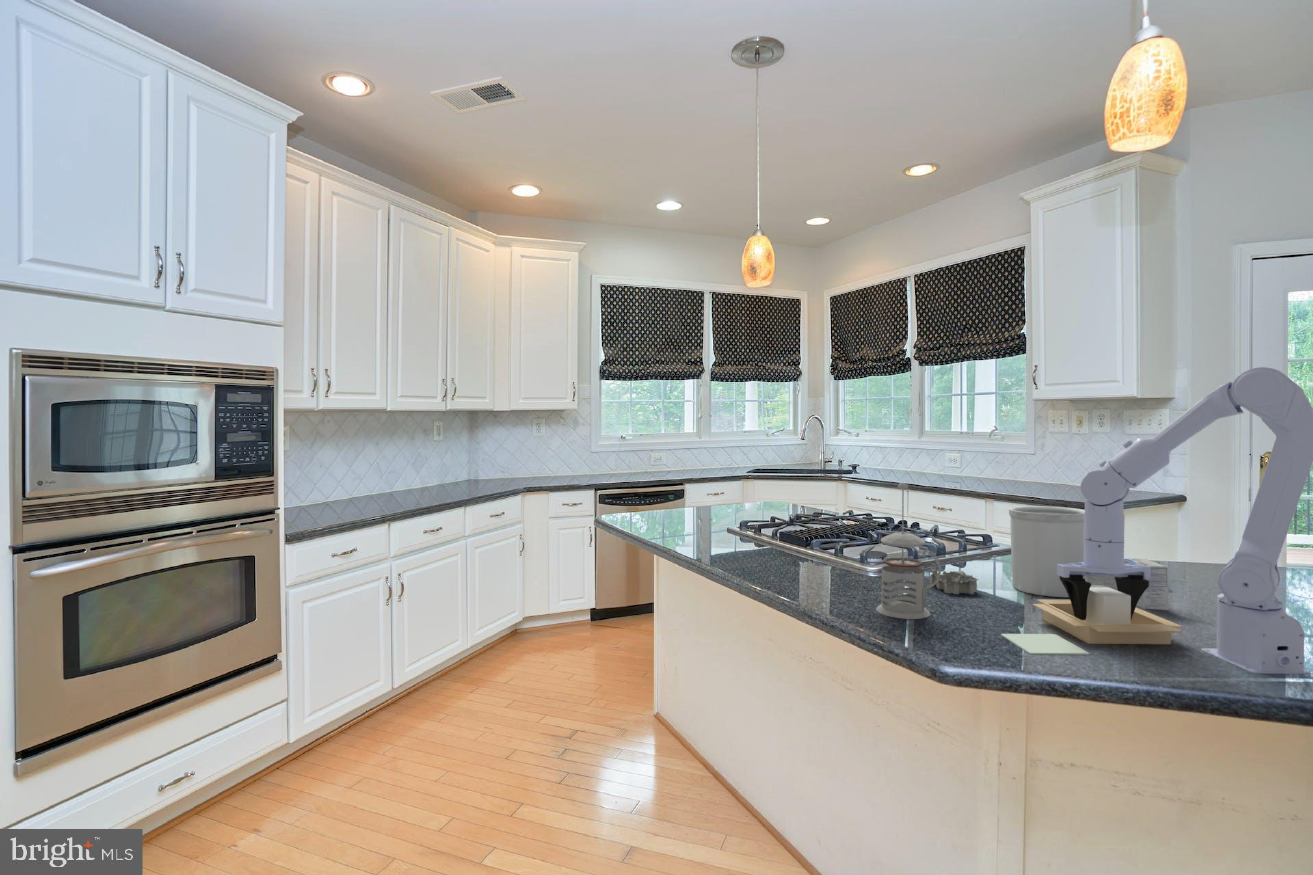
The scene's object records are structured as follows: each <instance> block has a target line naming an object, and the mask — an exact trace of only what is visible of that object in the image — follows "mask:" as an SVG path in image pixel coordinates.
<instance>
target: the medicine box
mask: <svg viewBox="0 0 1313 875" xmlns="http://www.w3.org/2000/svg"><path fill="white" fill-rule="evenodd" d="M1124 564H1143V565H1146V566H1149V567H1151V578H1144V579H1145V580H1148V581H1149V587H1148V588H1147V589H1146V590H1145V591H1144V593H1143V594H1142V596H1141V597H1140V599H1139V601H1138V603H1137V605H1136V607H1139V608H1141V609H1142V610H1143V609H1144V610H1158V611H1159V610H1161V611H1162V610H1163V611H1169V568H1168V567H1167V566H1166V565H1163V564H1161V563H1158V562H1155V561H1152V560H1149V559H1146V558H1136V557H1135V558H1131V557H1130V558H1124Z"/></svg>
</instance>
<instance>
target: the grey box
mask: <svg viewBox="0 0 1313 875" xmlns="http://www.w3.org/2000/svg"><path fill="white" fill-rule="evenodd" d="M1082 621H1084V622H1086V623H1088V624H1131V596H1130V595H1127V594H1125V593H1122V592H1119V591H1118V590H1117V589H1113V588H1111V587H1108V586H1106V585H1102V584H1100V585H1099V584H1098V585H1096V584H1091V587H1090V589H1089V593H1088V598H1087V616H1086V620H1082Z"/></svg>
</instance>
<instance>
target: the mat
mask: <svg viewBox="0 0 1313 875" xmlns="http://www.w3.org/2000/svg"><path fill="white" fill-rule="evenodd" d="M1000 636H1002V637H1003V638H1005V639H1006V640H1008V641H1009V642H1011V643H1012V644H1013V645H1015V646H1016V647H1018V648H1020V649H1021V650H1022V651H1024V652H1026V653H1027V654H1029V655H1045V656H1046V655H1049V656H1050V655H1052V656H1053V655H1055V656H1056V655H1061V656H1062V655H1067V656H1069V655H1070V656H1071V655H1072V656H1073V655H1074V656H1076V655H1079V656H1083V655H1084V656H1085V655H1087V656H1088V655H1090V652H1088V651H1086V650H1085V649H1083V648H1081V647H1079V646H1077V645H1076V644H1074V643H1072V642H1070V641H1068V640H1066V639H1065V638H1063V637H1061V636H1059V635H1057V634H1056V633H1000Z"/></svg>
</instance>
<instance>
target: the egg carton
mask: <svg viewBox="0 0 1313 875" xmlns="http://www.w3.org/2000/svg"><path fill="white" fill-rule="evenodd" d="M927 569H928V570H930V571H931V572H932V573H931V574H930V575H929V585H931V584H933V583H934V582H936V580H937V578H938V570H937V569H936V568H935V569H934V568H932V567H931V566H928V567H927ZM978 580H979V578H976V577H973V575H971V574H970V575H969V574H967V573H966V572H965V571H963V570H957V571H955V570H954V571H952V570H951V571H949V572H947V571H945V570H943V572H942V574H940V578H939V580H938V582H937V583H936V584H935V585H937V586H936V588H937V589H938V590H943V589H944V590H943V592H944V593H946V594H951V593H953V594H952V595H954V594H958V595H959V594H967V593H970V594H969V595H974V594H975V593H974V592H978V584H977V582H978ZM950 582H951V583H950ZM935 585H934V586H935ZM973 593H974V594H973Z"/></svg>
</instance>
